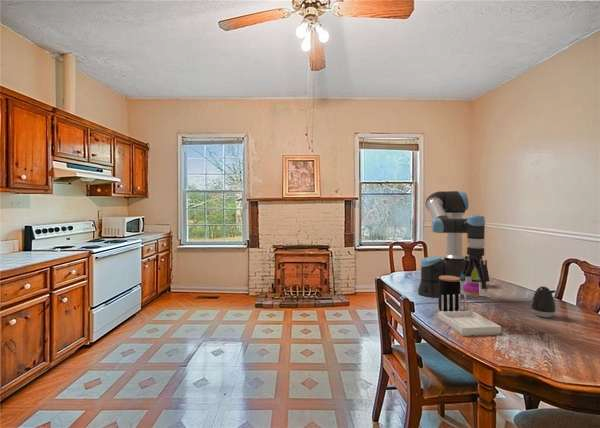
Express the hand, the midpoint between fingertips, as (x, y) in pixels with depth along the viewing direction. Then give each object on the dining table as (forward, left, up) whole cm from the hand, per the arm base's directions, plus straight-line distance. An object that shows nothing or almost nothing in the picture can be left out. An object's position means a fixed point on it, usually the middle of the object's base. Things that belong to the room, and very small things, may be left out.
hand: (475, 292), depth 166 cm
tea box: (-67, +39, -15) cm, 79 cm away
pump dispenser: (-4, +39, -15) cm, 42 cm away
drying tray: (+5, -7, -14) cm, 17 cm away
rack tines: (-7, -7, -14) cm, 17 cm away
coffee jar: (-17, -4, -15) cm, 23 cm away
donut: (0, 0, -1) cm, 1 cm away
